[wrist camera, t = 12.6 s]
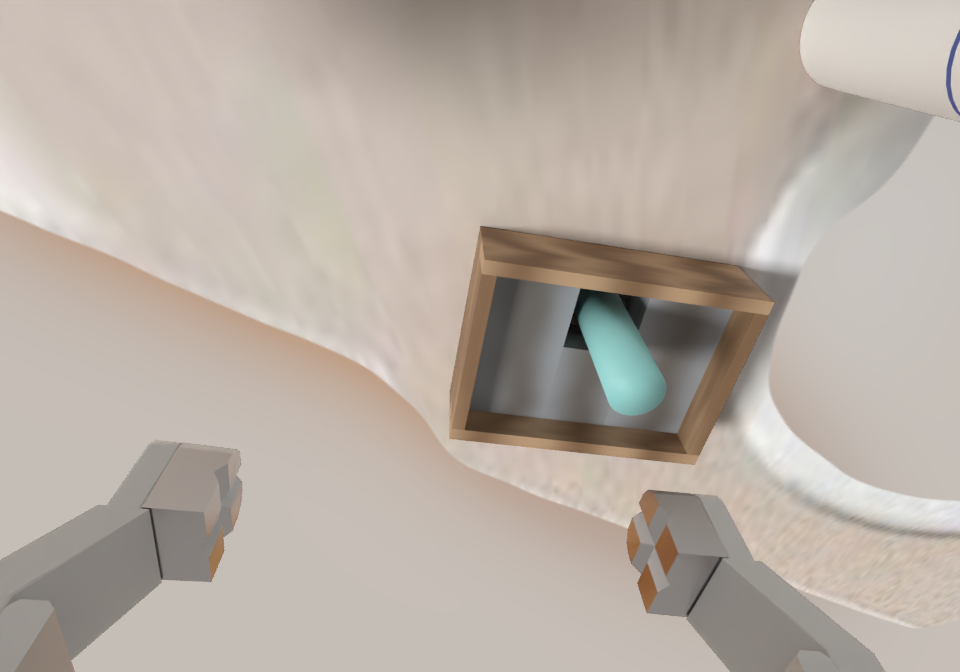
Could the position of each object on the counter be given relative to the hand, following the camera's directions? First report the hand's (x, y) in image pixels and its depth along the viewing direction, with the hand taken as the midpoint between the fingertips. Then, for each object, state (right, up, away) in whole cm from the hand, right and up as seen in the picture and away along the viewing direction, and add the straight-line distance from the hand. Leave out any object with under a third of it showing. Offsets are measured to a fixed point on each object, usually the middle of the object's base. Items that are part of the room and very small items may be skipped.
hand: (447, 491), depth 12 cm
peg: (+10, +6, +33) cm, 35 cm away
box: (+9, +3, +35) cm, 36 cm away
